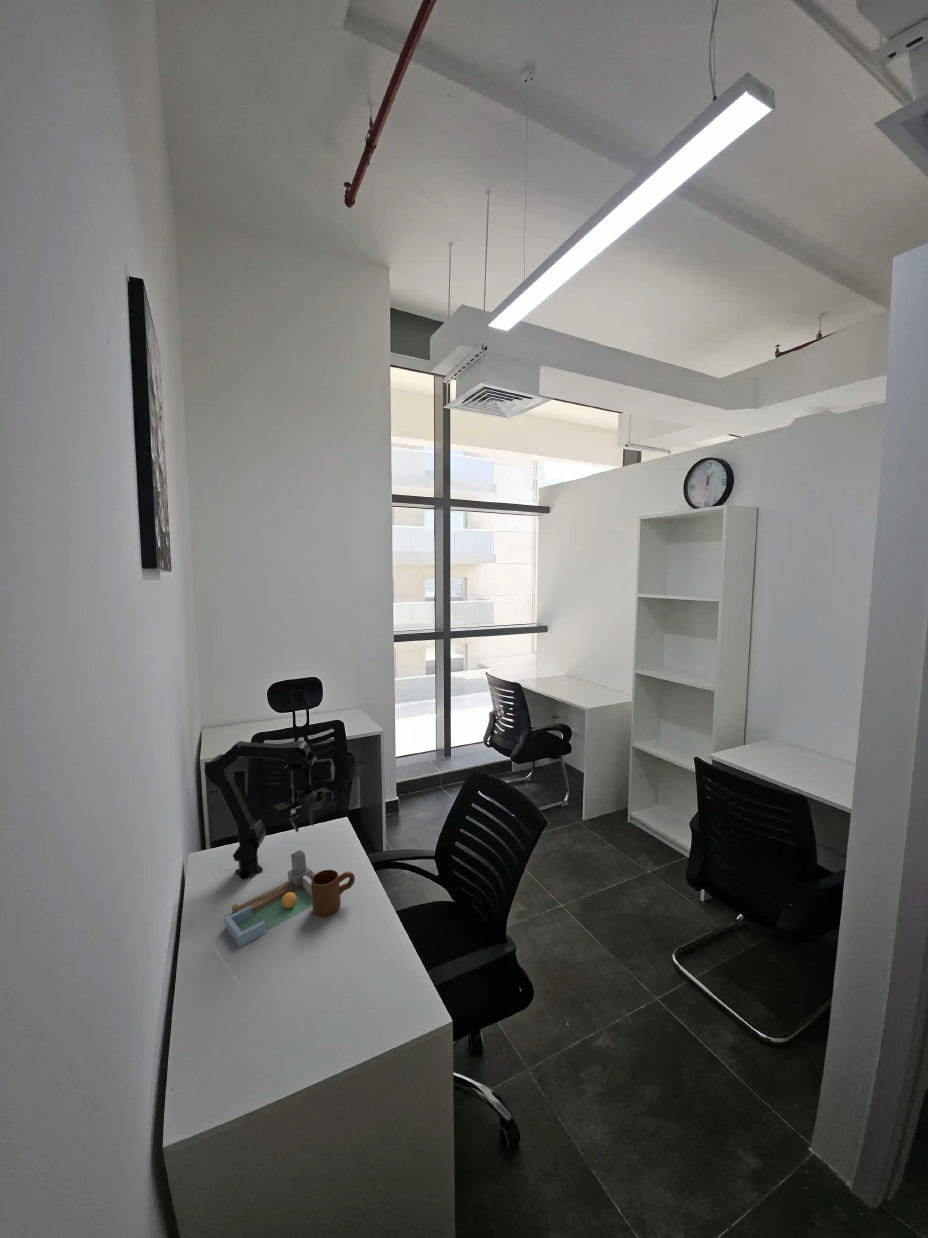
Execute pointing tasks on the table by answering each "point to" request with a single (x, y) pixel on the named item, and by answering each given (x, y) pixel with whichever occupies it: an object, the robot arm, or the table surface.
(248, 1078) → the table surface
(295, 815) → the robot arm
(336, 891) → the mug
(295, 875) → the kicker
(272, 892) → the rail
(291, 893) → the ball
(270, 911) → the pitch mat
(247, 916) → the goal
